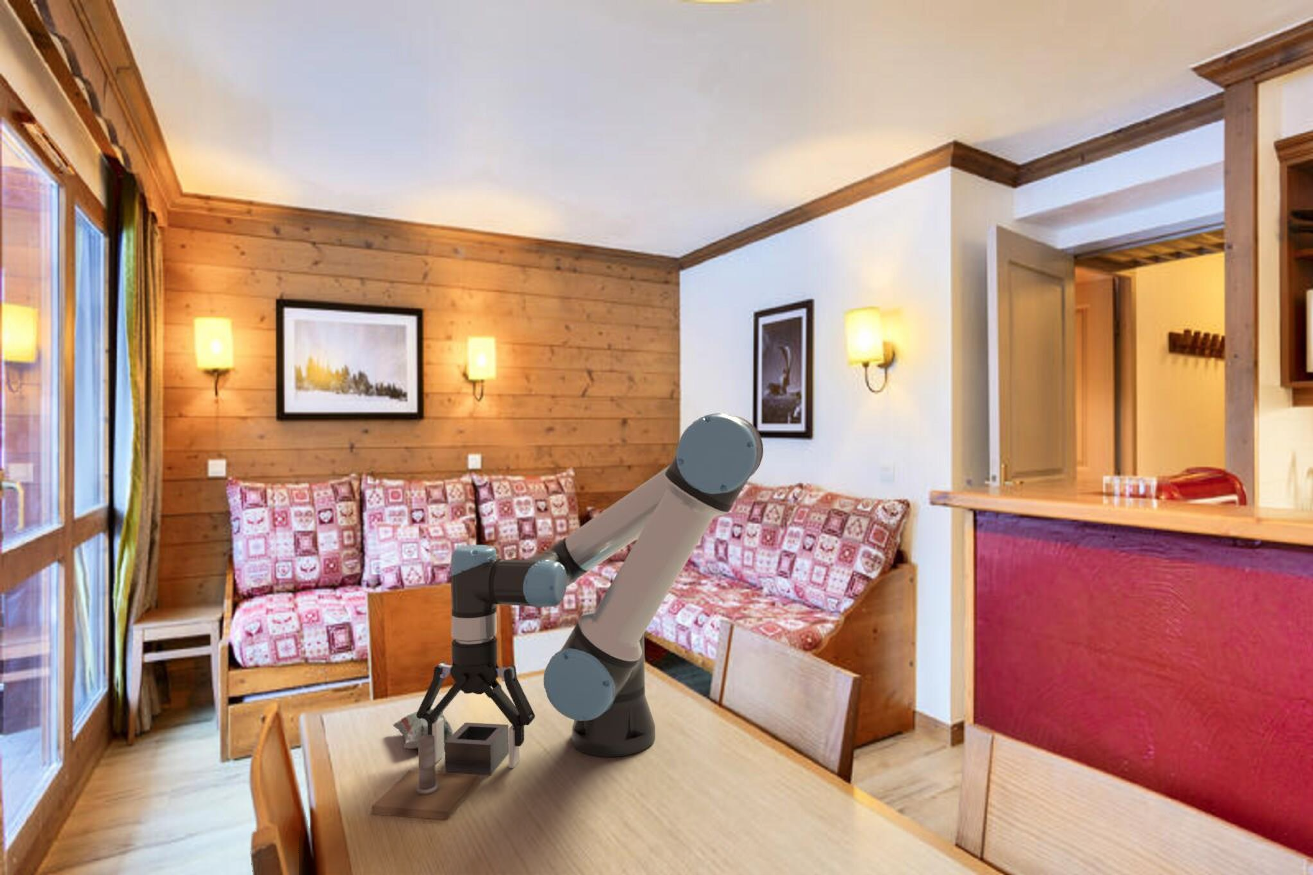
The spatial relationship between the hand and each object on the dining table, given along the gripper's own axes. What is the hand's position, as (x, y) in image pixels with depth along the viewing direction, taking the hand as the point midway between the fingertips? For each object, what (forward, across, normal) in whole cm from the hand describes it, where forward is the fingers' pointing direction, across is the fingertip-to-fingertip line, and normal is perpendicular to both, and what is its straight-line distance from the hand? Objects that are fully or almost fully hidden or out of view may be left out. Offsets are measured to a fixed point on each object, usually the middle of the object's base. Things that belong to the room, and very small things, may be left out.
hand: (476, 761), depth 121 cm
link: (0, 0, 0) cm, 0 cm away
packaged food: (+1, +13, -7) cm, 15 cm away
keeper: (0, +3, +12) cm, 12 cm away
